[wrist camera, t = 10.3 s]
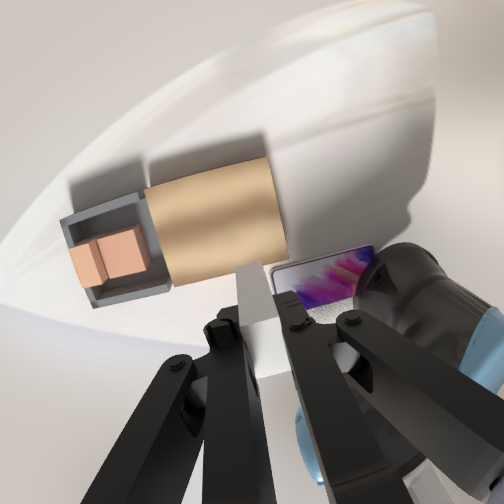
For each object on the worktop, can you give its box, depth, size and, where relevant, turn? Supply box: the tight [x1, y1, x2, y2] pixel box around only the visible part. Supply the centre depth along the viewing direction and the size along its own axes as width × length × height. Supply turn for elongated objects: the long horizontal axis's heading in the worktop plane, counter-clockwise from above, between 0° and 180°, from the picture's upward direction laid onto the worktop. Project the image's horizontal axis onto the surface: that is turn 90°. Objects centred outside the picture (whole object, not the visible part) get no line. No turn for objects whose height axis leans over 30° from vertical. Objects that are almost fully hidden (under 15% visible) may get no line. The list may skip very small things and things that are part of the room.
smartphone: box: [270, 244, 375, 310], centre depth 39 cm, size 7×1×15 cm
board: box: [144, 157, 289, 287], centre depth 34 cm, size 12×14×3 cm
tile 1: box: [68, 232, 109, 288], centre depth 32 cm, size 5×5×3 cm
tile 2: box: [97, 224, 152, 279], centre depth 33 cm, size 5×5×3 cm
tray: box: [59, 188, 173, 309], centre depth 33 cm, size 12×11×4 cm
